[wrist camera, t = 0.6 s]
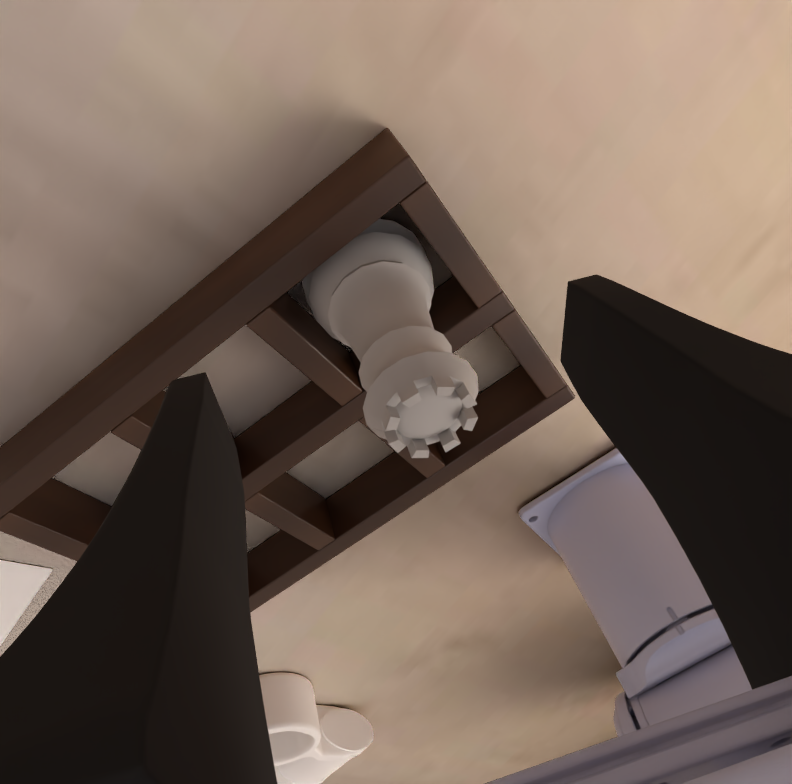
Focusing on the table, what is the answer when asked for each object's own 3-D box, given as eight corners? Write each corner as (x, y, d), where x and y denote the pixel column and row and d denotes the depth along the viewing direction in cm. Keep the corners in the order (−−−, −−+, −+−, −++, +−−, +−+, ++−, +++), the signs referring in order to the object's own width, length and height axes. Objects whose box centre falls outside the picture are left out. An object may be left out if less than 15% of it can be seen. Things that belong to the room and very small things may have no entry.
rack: (550, 363, 28) (576, 398, 26) (231, 580, 32) (234, 623, 30) (387, 126, 19) (409, 155, 17) (-23, 465, 23) (-39, 516, 21)
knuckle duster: (257, 796, 51) (72, 800, 43) (395, 684, 44) (207, 661, 36) (261, 844, 49) (65, 858, 40) (409, 733, 42) (210, 721, 33)
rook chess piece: (330, 342, 24) (382, 504, 18) (277, 246, 21) (320, 404, 15) (438, 293, 24) (526, 440, 18) (401, 189, 20) (493, 326, 15)
